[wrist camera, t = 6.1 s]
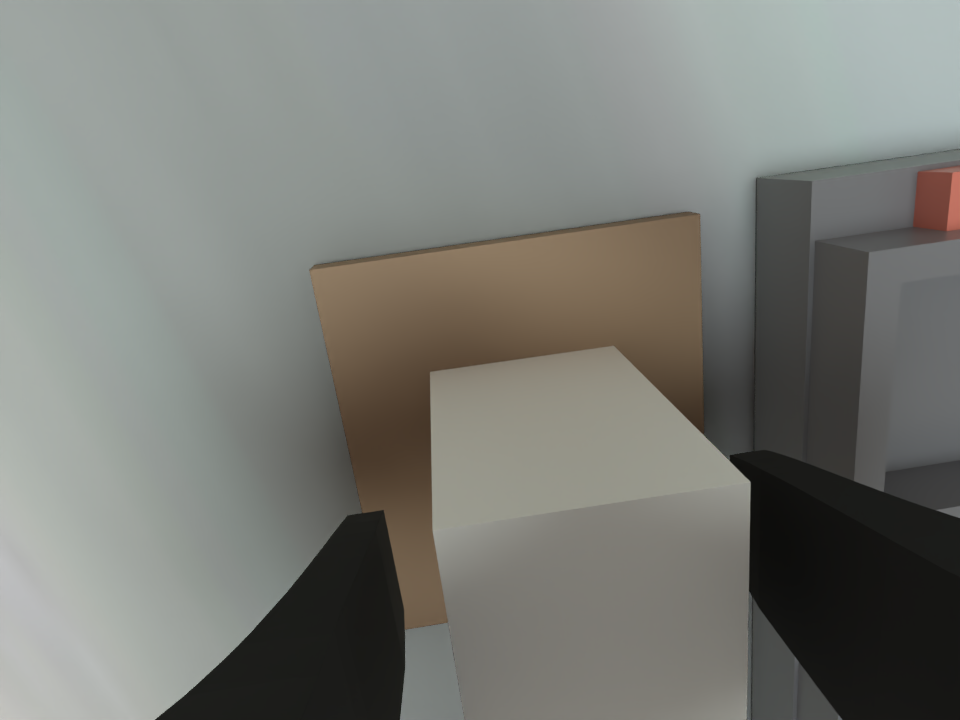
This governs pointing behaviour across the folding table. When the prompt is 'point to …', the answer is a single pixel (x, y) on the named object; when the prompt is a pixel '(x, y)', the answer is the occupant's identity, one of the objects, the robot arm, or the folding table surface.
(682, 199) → the folding table surface
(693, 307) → the walnut board
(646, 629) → the block
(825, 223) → the power strip
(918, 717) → the robot arm
